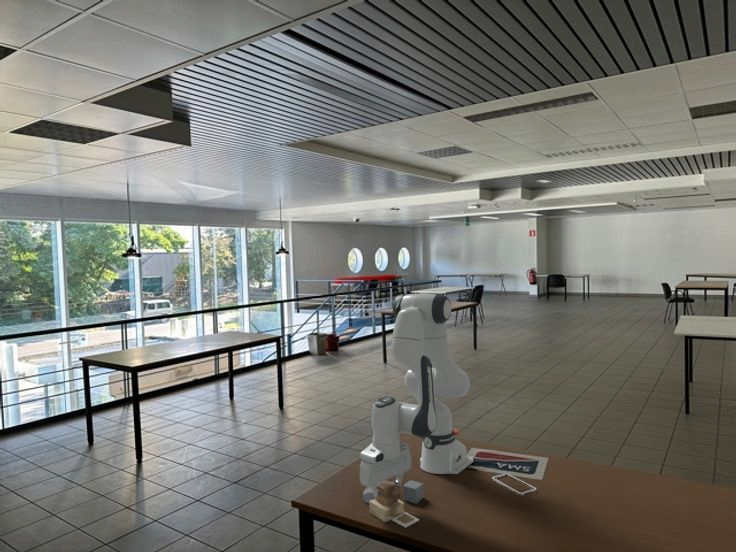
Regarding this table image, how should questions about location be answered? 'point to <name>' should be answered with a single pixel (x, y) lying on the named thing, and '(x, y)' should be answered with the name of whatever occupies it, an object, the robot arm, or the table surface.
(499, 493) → the table surface
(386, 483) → the walnut cube
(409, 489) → the slate cube
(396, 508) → the oak base block
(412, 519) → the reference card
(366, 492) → the stone block
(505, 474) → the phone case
